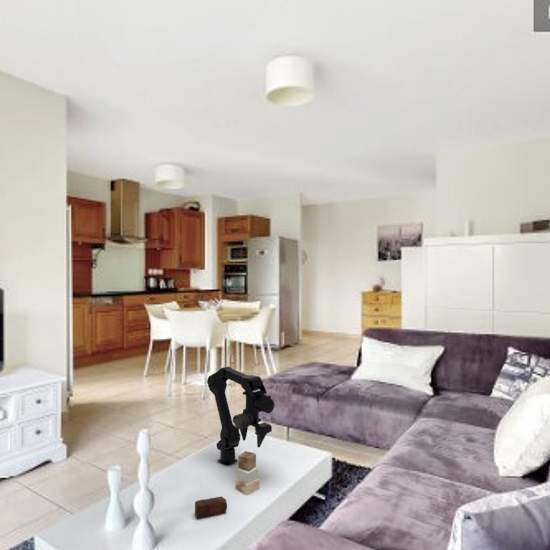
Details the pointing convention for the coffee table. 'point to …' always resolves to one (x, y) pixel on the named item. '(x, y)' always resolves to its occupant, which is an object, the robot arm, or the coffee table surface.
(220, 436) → the robot arm
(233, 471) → the coffee table surface
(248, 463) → the walnut block
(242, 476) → the tower top
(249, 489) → the tower base
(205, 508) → the brick
